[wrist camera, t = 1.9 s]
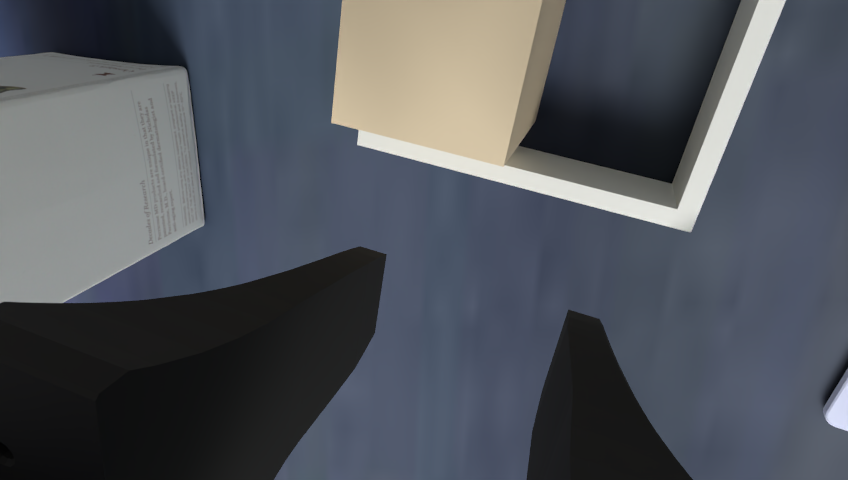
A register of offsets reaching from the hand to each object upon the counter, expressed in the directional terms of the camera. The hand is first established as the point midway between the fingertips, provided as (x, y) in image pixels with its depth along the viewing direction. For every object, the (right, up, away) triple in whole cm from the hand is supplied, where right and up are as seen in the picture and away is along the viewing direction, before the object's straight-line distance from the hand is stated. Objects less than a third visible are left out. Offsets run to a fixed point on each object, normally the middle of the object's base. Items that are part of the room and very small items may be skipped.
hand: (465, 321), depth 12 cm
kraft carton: (+1, +9, +8) cm, 12 cm away
